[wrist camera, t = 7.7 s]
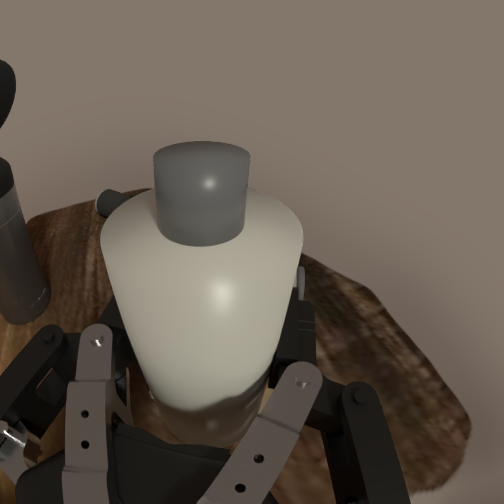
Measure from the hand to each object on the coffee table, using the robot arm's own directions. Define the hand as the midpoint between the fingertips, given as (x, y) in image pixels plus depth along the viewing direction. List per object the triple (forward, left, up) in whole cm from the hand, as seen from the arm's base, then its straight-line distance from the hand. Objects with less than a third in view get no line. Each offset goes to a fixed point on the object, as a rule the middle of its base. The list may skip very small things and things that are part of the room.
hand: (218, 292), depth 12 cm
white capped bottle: (0, -3, -6) cm, 7 cm away
